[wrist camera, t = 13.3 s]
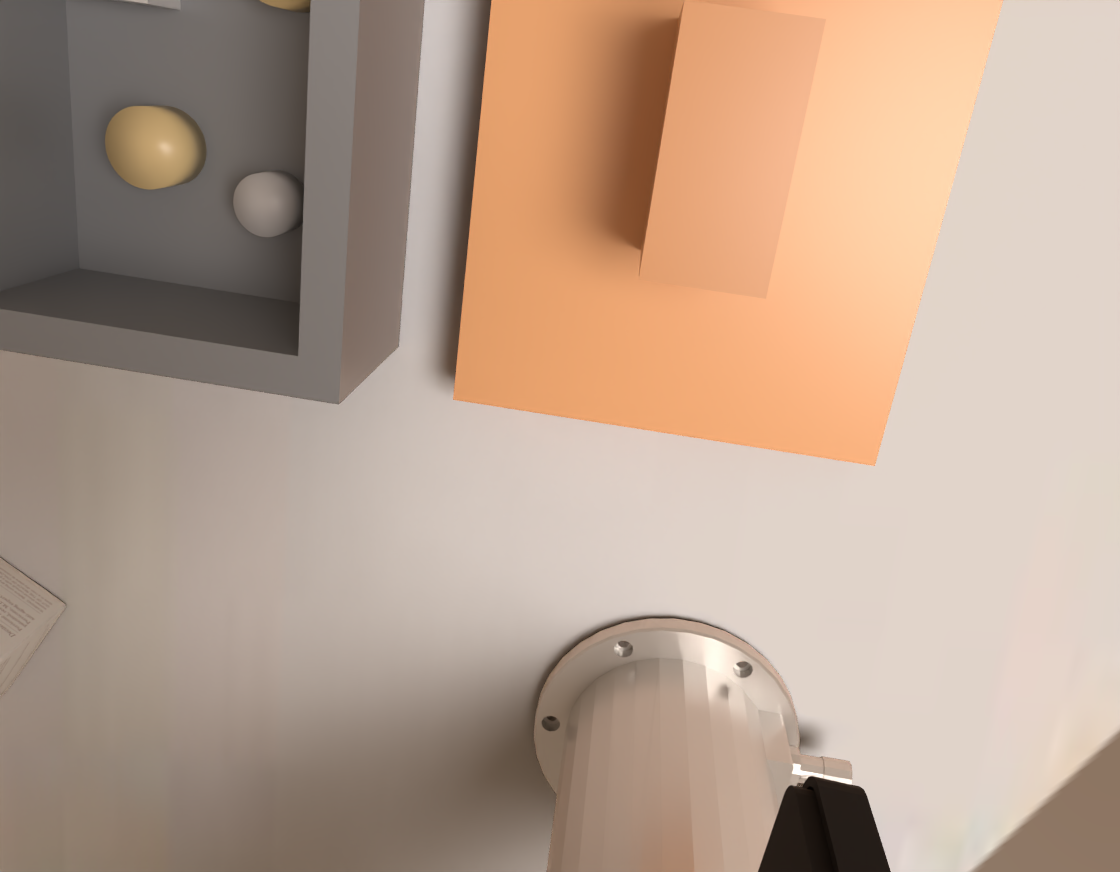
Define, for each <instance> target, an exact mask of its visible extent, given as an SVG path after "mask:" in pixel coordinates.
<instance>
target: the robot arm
mask: <svg viewBox="0 0 1120 872" xmlns="http://www.w3.org/2000/svg"><path fill="white" fill-rule="evenodd" d="M621 641H626V642H621ZM741 661H744V662H741ZM534 742H535V750H536V756H537V759H538V761H539V764H540V767H541V769H542V772H543V775H544V776H545V778H546V780H547V781H548V783H549V785H550V786H551V788H552V789H553V791H554V793H555V794H556V795H557V797H556V805H555V812H554V819H553V827H552V834H551V841H550V848H549V856H548V863H547V870H546V872H891V871H890V868H889V865H888V862H887V859H886V855H885V852H884V849H883V846H882V843H881V839H880V836H879V833H878V830H877V827H876V824H875V820H874V817H873V814H872V811H871V808H870V805H869V801H868V798H867V795H866V793H865V791H864V789H862V788H861V787H859V786H855V785H851V783H852V766H851V763H850V762H849V761H846V760H840V759H834V758H828V757H823V756H822V757H814V756H808V755H802V754H800V750H799V744H800V735H799V728H798V721H797V716H796V712H795V708H794V705H793V701H792V697H791V695H790V693H789V691H788V689H787V687H786V686H785V684H784V682H783V680H782V678H781V676H780V675H779V674H778V673H777V671H776V670H775V669H774V668H773V666H772V665H771V664H770V663H769V662H768V660H767V659H766V658H765V657H763V656H762V655H761V654H760V653H758V652H757V651H756V650H755V649H754V648H752V647H751V646H750V645H749V644H748V643H746V642H744V641H742V640H740V639H739V638H737V637H735V636H733V635H731V634H730V633H728V632H726V631H723V630H720V629H717V628H714V627H712V626H709V625H706V624H703V623H699V622H693V621H687V620H681V619H643V620H637V621H631V622H625V623H622V624H619V625H616V626H613V627H610V628H608V629H605V630H602V631H600V632H598V633H596V634H594V635H593V636H591V637H589V638H587V639H585V640H584V641H582V642H580V643H579V644H578V645H577V646H575V647H574V648H573V649H572V650H571V651H570V652H568V653H567V654H566V655H565V656H564V657H563V658H562V659H561V660H560V661H559V663H558V664H557V665H556V667H555V668H554V669H553V671H552V672H551V673H550V674H549V676H548V678H547V680H546V683H545V685H544V687H543V689H542V691H541V693H540V697H539V702H538V706H537V710H536V714H535V725H534ZM798 783H803V784H804V785H803V787H797V784H798Z"/></svg>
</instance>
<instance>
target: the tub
mask: <svg viewBox="0 0 1120 872" xmlns="http://www.w3.org/2000/svg"><path fill="white" fill-rule="evenodd" d="M424 1H425V0H0V350H4V351H10V352H17V353H23V354H29V355H35V356H41V357H48V358H54V359H60V360H66V361H72V362H79V363H85V364H91V365H97V366H103V367H110V368H116V369H122V370H128V371H135V372H141V373H147V374H153V375H159V376H166V377H172V378H178V379H184V380H190V381H197V382H203V383H209V384H215V385H221V386H228V387H234V388H240V389H246V390H252V391H259V392H265V393H271V394H277V395H283V396H290V397H296V398H302V399H308V400H314V401H321V402H327V403H333V404H340V403H341V402H342V401H343V400H344V399H345V398H346V397H347V396H348V395H349V394H350V393H351V392H352V391H353V390H354V389H355V388H356V387H357V386H358V385H359V384H360V383H362V382H363V381H364V380H365V379H366V378H367V377H368V376H369V375H370V374H371V373H372V372H373V371H374V370H375V369H376V368H377V367H378V366H379V365H380V364H381V363H382V362H383V361H384V360H385V359H386V358H387V357H388V356H389V355H390V354H391V353H392V352H394V351H395V350H396V349H397V348H398V347H399V334H400V321H401V308H402V294H403V281H404V268H405V254H406V241H407V228H408V214H409V201H410V188H411V174H412V161H413V148H414V134H415V121H416V108H417V95H418V81H419V68H420V55H421V41H422V28H423V15H424Z"/></svg>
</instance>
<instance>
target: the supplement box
mask: <svg viewBox="0 0 1120 872" xmlns="http://www.w3.org/2000/svg"><path fill="white" fill-rule="evenodd" d="M65 607H66V605H65V604H64V603H63V602H62V601H60V600H59V599H58V598H57V597H55V596H54V595H52V594H51V593H49V592H48V591H47V590H45V589H44V588H42V587H41V586H40V585H38V584H37V583H35V582H34V581H32V580H31V579H29V578H28V577H27V576H25V575H24V574H23V573H21V572H20V571H18V570H17V569H16V568H14V567H13V566H11V565H10V564H8V563H7V562H6V561H4V560H3V559H2V558H0V697H1V696H2V695H3V694H4V693H5V692H6V691H7V690H8V689H9V687H10V686H11V685H12V683H13V682H14V681H15V679H16V678H17V677H18V675H19V674H20V672H21V671H22V670H23V668H24V667H25V665H26V664H27V662H28V661H29V660H30V658H31V657H32V655H33V654H34V652H35V651H36V649H37V648H38V647H39V645H40V644H41V642H42V641H43V639H44V638H45V636H46V635H47V634H48V632H49V631H50V629H51V628H52V626H53V625H54V623H55V622H56V620H57V619H58V618H59V616H60V615H61V613H62V612H63V610H64V609H65Z"/></svg>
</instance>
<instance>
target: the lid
mask: <svg viewBox="0 0 1120 872" xmlns="http://www.w3.org/2000/svg"><path fill="white" fill-rule="evenodd" d="M1002 3H1003V0H492V1H491V11H490V21H489V32H488V42H487V53H486V63H485V73H484V84H483V94H482V105H481V115H480V126H479V136H478V146H477V157H476V167H475V178H474V188H473V199H472V209H471V219H470V230H469V240H468V251H467V261H466V272H465V282H464V292H463V303H462V313H461V324H460V334H459V344H458V355H457V365H456V376H455V386H454V397H453V400H459V401H465V402H472V403H478V404H484V405H491V406H497V407H503V408H510V409H516V410H522V411H529V412H535V413H542V414H548V415H554V416H561V417H567V418H573V419H580V420H586V421H592V422H599V423H605V424H612V425H618V426H624V427H631V428H637V429H643V430H650V431H656V432H662V433H669V434H675V435H682V436H688V437H694V438H701V439H707V440H713V441H720V442H726V443H732V444H739V445H745V446H752V447H758V448H764V449H771V450H777V451H783V452H790V453H796V454H802V455H809V456H815V457H822V458H828V459H834V460H841V461H847V462H853V463H860V464H866V465H872V466H875V463H876V459H877V456H878V452H879V448H880V445H881V441H882V438H883V434H884V430H885V427H886V423H887V419H888V416H889V412H890V409H891V405H892V401H893V398H894V394H895V390H896V387H897V383H898V380H899V376H900V372H901V369H902V365H903V361H904V358H905V354H906V351H907V347H908V343H909V340H910V336H911V332H912V329H913V325H914V322H915V318H916V314H917V311H918V307H919V303H920V300H921V296H922V293H923V289H924V285H925V282H926V278H927V274H928V271H929V267H930V264H931V260H932V256H933V253H934V249H935V245H936V242H937V238H938V235H939V231H940V227H941V224H942V220H943V216H944V213H945V209H946V206H947V202H948V198H949V195H950V191H951V188H952V184H953V180H954V177H955V173H956V169H957V166H958V162H959V159H960V155H961V151H962V148H963V144H964V140H965V137H966V133H967V130H968V126H969V122H970V119H971V115H972V111H973V108H974V104H975V101H976V97H977V93H978V90H979V86H980V82H981V79H982V75H983V72H984V68H985V64H986V61H987V57H988V53H989V50H990V46H991V43H992V39H993V35H994V32H995V28H996V24H997V21H998V17H999V14H1000V10H1001V6H1002Z"/></svg>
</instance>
